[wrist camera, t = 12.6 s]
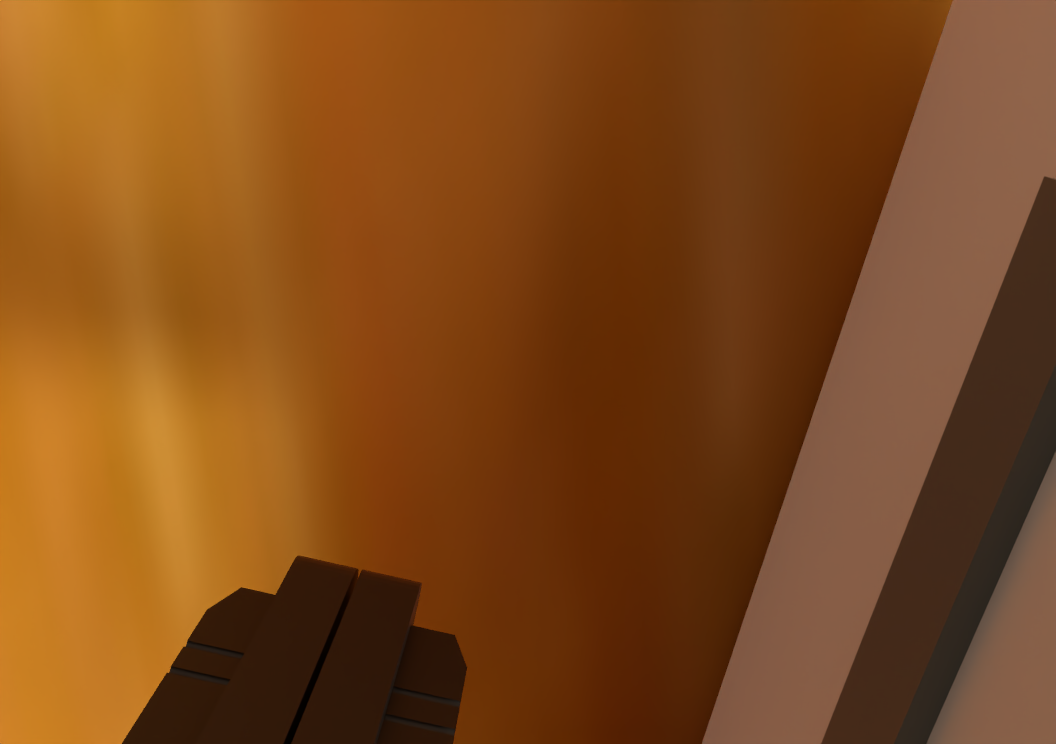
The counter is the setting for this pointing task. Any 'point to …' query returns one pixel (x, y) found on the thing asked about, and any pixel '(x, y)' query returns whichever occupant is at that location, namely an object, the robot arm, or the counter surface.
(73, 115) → the counter surface
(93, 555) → the counter surface
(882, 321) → the drawer
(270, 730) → the robot arm
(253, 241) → the counter surface
